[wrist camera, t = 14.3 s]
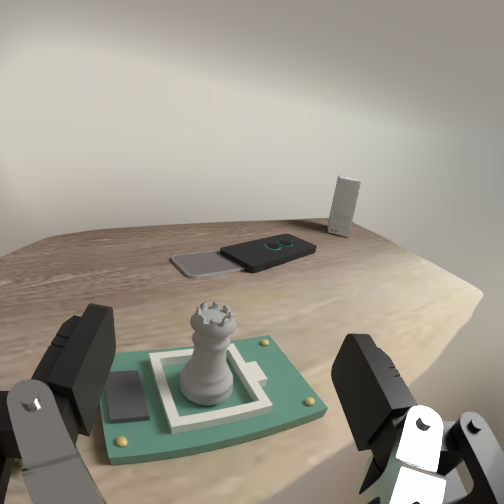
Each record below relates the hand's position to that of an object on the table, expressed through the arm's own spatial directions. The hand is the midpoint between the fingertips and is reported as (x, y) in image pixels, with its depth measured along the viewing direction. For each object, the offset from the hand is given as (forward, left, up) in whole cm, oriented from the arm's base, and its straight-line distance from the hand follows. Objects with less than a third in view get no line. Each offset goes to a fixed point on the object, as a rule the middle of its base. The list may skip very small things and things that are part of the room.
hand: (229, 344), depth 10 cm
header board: (+3, +9, -14) cm, 18 cm away
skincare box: (+53, +51, -15) cm, 75 cm away
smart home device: (+26, +38, -15) cm, 49 cm away
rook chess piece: (+3, +9, -13) cm, 17 cm away
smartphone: (+14, +35, -15) cm, 41 cm away
